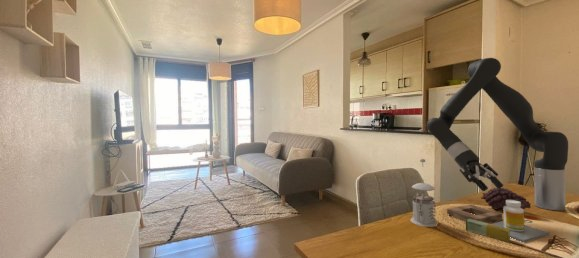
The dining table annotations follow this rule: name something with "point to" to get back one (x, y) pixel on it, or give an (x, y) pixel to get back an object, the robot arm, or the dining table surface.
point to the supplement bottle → (513, 216)
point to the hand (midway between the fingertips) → (493, 188)
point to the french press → (423, 206)
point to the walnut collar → (479, 212)
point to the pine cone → (503, 198)
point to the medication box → (488, 230)
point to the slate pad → (525, 233)
